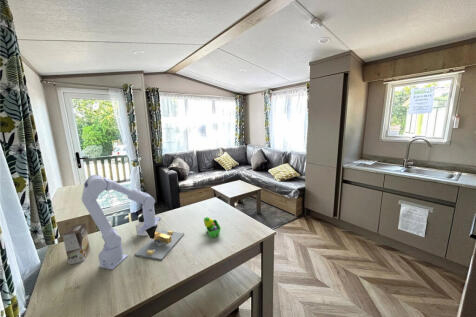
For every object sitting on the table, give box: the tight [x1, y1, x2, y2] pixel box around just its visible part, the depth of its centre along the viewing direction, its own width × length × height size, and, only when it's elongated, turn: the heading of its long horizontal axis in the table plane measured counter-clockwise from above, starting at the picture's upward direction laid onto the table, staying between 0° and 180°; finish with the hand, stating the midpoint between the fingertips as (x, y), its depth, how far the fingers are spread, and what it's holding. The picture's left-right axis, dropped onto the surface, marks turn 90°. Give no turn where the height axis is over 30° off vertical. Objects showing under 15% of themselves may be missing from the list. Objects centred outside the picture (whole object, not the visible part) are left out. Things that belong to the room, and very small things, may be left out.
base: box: [134, 230, 185, 261], centre depth 106 cm, size 22×16×2 cm
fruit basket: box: [203, 216, 221, 238], centre depth 115 cm, size 11×9×11 cm
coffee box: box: [62, 223, 91, 265], centre depth 96 cm, size 9×6×16 cm
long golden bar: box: [153, 231, 171, 245], centre depth 105 cm, size 7×13×4 cm, turn 66°
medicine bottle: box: [135, 213, 149, 237], centre depth 117 cm, size 7×7×12 cm
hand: (152, 237), depth 106 cm, fingers closed, pressing on long golden bar
